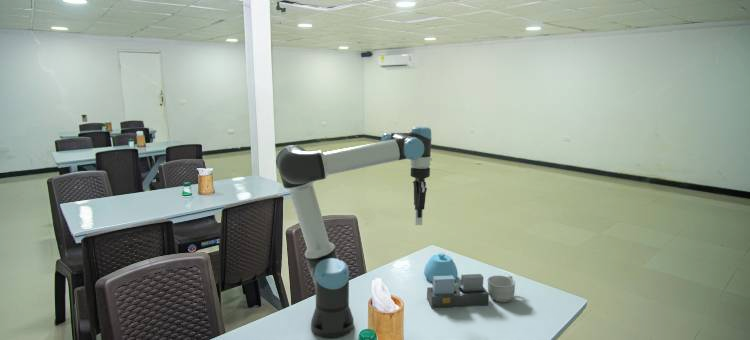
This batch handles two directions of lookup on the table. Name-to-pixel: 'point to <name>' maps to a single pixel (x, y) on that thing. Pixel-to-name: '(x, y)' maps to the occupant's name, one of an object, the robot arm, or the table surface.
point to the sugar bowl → (440, 267)
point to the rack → (461, 294)
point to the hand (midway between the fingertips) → (418, 224)
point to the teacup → (501, 288)
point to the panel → (443, 285)
